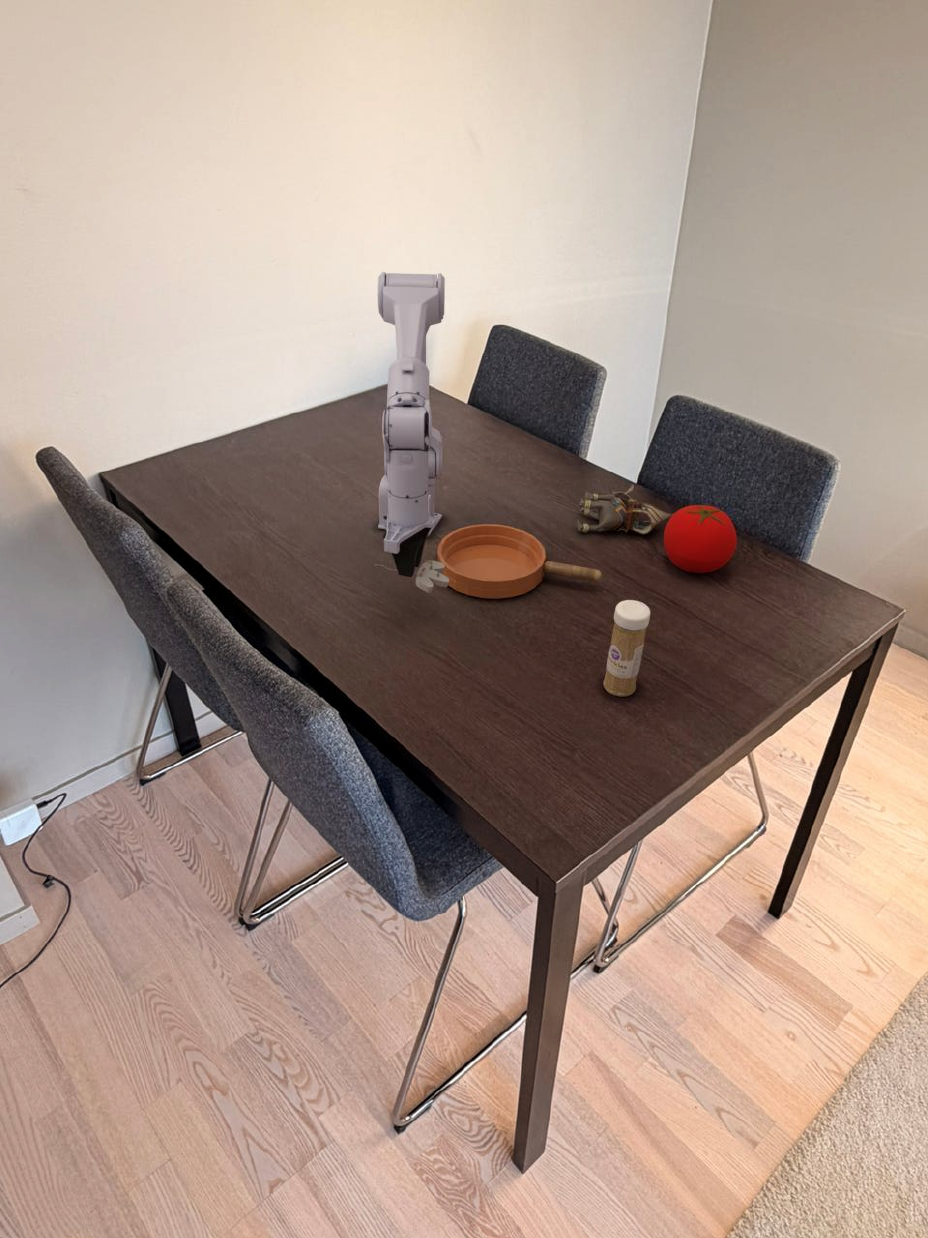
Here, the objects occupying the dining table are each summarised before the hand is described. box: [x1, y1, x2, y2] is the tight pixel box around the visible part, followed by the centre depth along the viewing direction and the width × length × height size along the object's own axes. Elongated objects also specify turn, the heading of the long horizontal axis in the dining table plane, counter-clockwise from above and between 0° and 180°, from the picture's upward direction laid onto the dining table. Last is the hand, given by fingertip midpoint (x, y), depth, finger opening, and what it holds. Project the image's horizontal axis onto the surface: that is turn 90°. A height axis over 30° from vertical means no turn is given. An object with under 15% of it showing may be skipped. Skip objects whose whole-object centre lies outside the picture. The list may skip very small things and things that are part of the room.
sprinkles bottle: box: [602, 599, 651, 698], centre depth 117 cm, size 5×5×14 cm
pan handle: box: [543, 560, 603, 583], centre depth 140 cm, size 10×2×2 cm, turn 73°
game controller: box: [373, 559, 449, 594], centre depth 130 cm, size 6×12×3 cm, turn 89°
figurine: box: [576, 484, 675, 535], centre depth 155 cm, size 20×6×17 cm
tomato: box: [663, 503, 738, 574], centre depth 144 cm, size 11×12×10 cm
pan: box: [436, 523, 547, 600], centre depth 143 cm, size 18×18×4 cm
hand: (409, 570), depth 130 cm, fingers closed on game controller, 2 cm apart
